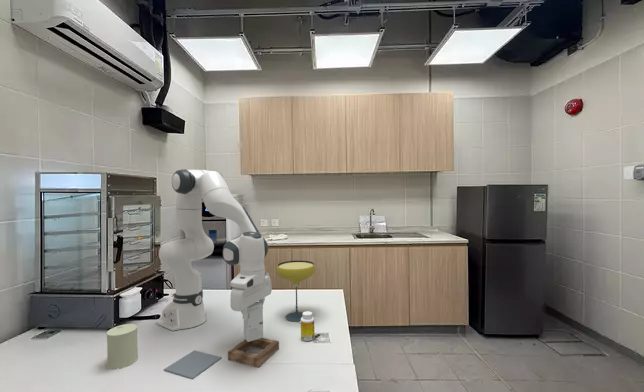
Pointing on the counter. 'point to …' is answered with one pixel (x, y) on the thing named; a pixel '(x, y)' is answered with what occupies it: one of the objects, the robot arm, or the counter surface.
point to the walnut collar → (252, 359)
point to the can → (122, 346)
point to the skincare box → (254, 322)
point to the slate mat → (192, 364)
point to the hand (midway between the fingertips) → (253, 314)
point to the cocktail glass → (295, 279)
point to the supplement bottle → (307, 326)
